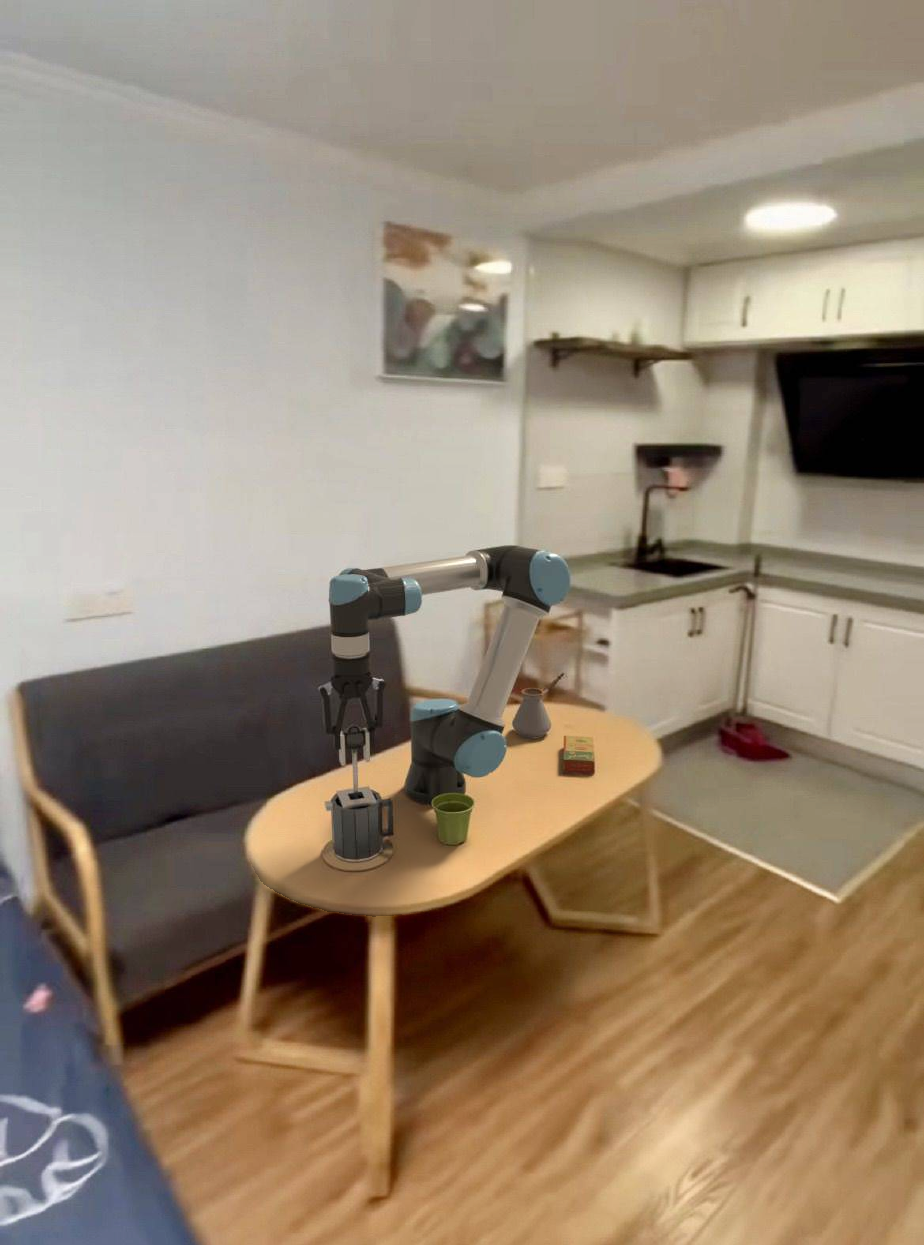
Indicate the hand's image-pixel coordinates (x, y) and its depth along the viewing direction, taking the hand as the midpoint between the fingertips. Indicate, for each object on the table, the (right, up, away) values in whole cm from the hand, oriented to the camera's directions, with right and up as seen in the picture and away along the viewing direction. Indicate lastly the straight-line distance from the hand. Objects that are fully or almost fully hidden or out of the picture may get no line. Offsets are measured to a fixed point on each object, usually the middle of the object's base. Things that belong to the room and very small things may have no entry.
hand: (354, 760), depth 163 cm
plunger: (0, -13, +3) cm, 13 cm away
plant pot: (+20, -19, +11) cm, 30 cm away
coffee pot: (+46, -3, +72) cm, 85 cm away
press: (0, -20, +5) cm, 21 cm away
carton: (+54, -9, +50) cm, 74 cm away
